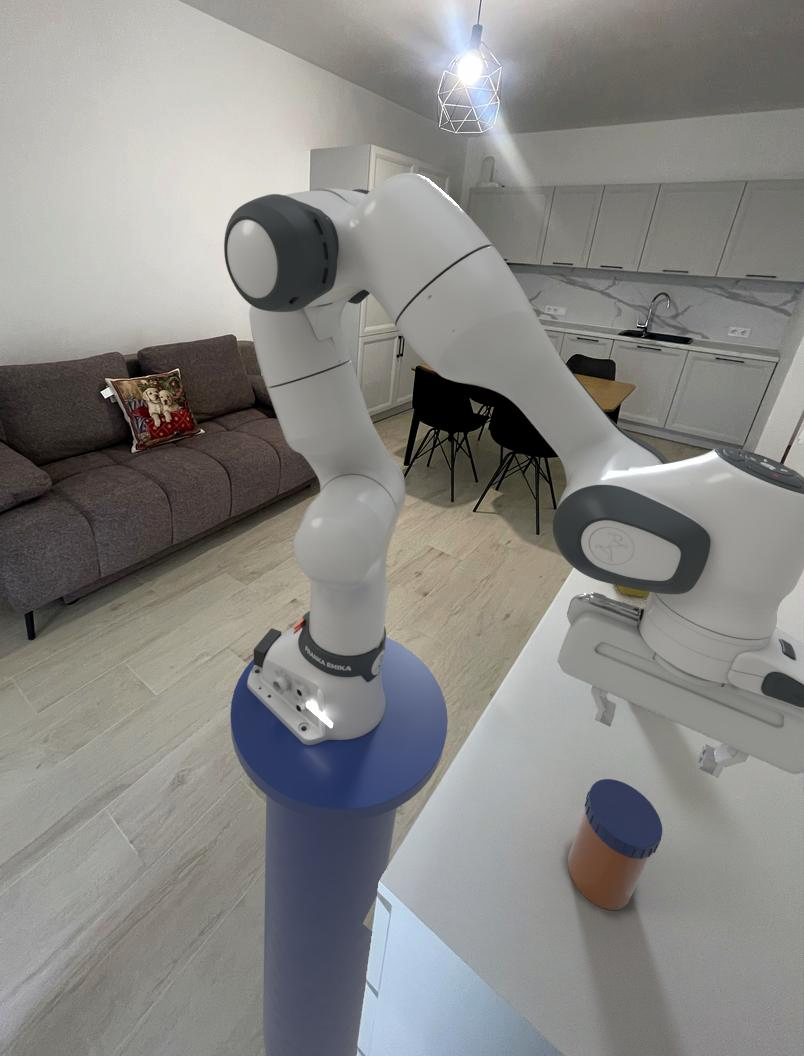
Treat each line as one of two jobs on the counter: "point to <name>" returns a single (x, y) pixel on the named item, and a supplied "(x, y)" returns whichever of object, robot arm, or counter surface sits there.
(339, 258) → the robot arm
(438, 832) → the counter surface
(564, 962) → the counter surface
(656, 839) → the jar lid
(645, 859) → the jam jar
